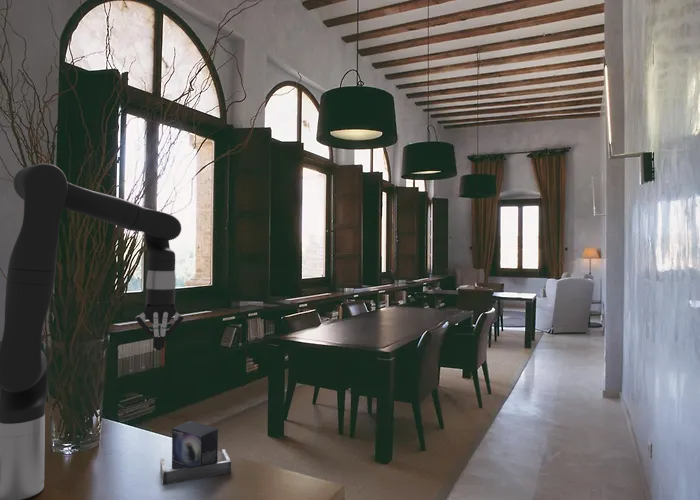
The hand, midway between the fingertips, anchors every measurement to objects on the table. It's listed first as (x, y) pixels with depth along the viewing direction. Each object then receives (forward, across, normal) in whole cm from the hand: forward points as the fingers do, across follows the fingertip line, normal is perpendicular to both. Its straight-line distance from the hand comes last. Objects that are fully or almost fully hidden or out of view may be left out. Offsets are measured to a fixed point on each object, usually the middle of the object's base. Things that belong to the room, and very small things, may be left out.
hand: (158, 349), depth 138 cm
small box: (+28, +8, -15) cm, 33 cm away
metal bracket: (+28, +8, -17) cm, 34 cm away
